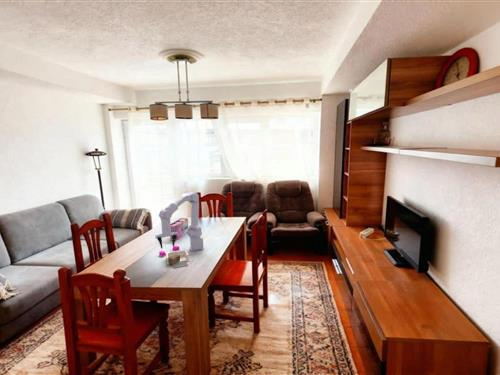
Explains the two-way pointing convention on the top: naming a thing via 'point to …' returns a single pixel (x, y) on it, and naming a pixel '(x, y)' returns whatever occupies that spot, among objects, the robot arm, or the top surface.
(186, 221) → the gum box
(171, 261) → the walnut block
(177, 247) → the toy block
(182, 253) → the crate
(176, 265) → the mat
